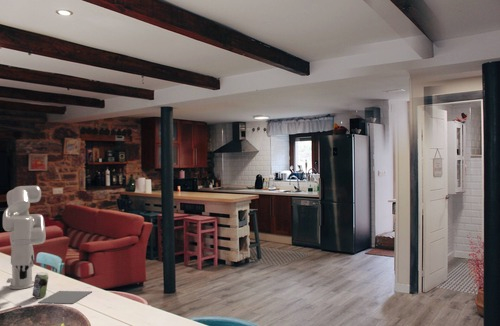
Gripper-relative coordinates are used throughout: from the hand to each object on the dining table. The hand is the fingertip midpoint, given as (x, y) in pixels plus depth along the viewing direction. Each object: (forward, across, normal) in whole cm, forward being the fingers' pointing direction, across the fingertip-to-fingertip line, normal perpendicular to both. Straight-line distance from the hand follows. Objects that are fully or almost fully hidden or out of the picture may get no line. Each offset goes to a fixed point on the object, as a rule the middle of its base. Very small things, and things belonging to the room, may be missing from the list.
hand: (23, 278), depth 209 cm
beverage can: (+9, +9, 0) cm, 13 cm away
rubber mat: (+9, +23, 0) cm, 24 cm away
